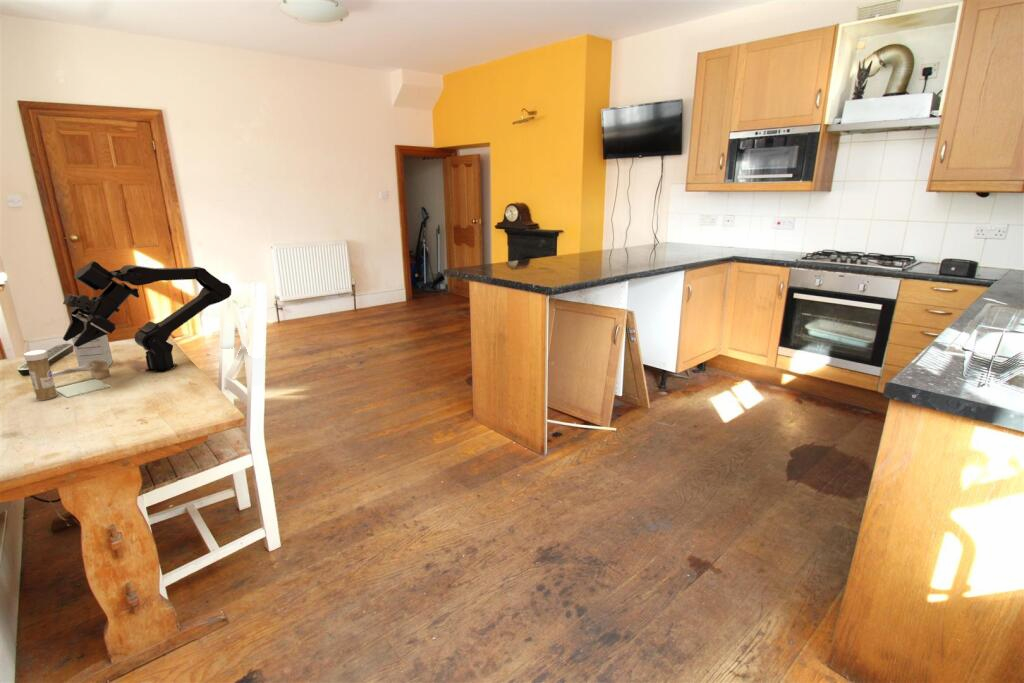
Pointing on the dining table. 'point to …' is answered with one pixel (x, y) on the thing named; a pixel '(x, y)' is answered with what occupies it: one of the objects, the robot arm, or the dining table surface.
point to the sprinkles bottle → (40, 374)
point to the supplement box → (93, 351)
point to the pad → (82, 388)
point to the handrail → (97, 369)
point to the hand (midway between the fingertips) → (69, 343)
